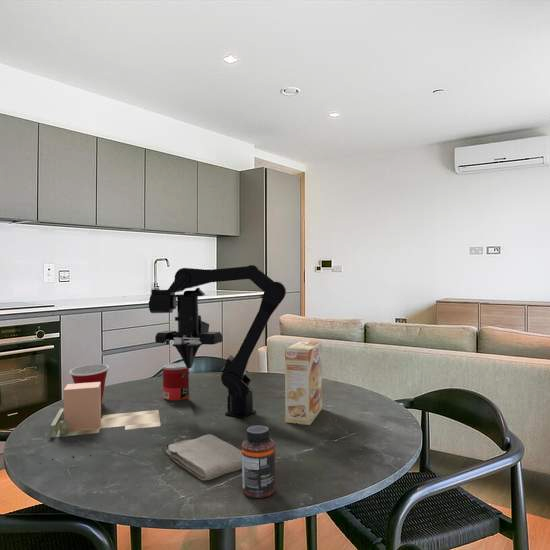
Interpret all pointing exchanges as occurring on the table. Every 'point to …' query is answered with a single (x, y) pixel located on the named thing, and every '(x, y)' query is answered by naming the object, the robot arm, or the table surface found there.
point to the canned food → (175, 381)
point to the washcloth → (206, 456)
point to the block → (82, 405)
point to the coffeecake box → (303, 382)
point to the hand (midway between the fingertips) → (189, 368)
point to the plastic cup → (90, 374)
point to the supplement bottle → (258, 463)
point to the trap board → (108, 422)
